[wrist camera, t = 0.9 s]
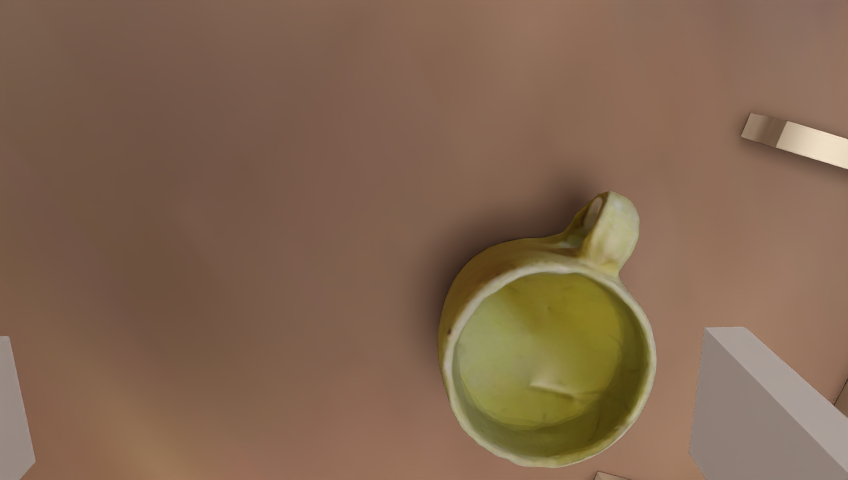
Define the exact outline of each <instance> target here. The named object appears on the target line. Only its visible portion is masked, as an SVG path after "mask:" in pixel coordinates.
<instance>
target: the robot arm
mask: <svg viewBox="0 0 848 480" xmlns="http://www.w3.org/2000/svg"><path fill="white" fill-rule="evenodd" d="M689 454H690V456H691V457H692V459H693V460H694V462H695V463H696V465H697V466H698V468H699V469H700V471H701V472H702V474H703V476H704V477H705V479H706V480H848V418H847V417H846V416H845V415H843V414H842V413H841V412H840V411H839V410H838V409H837V408H836V407H834V406H833V405H832V404H831V403H830V402H829V401H828V400H827V399H825V398H824V397H823V396H822V395H821V394H820V393H819V392H818V391H816V390H815V389H814V388H813V387H812V386H811V385H810V384H809V383H807V382H806V381H805V380H804V379H803V378H802V377H801V376H800V375H798V374H797V373H796V372H795V371H794V370H793V369H792V368H791V367H789V366H788V365H787V364H786V363H785V362H784V361H783V360H781V359H780V358H779V357H778V356H777V355H776V354H775V353H774V352H772V351H771V350H770V349H769V348H768V347H767V346H766V345H765V344H763V343H762V342H761V341H760V340H759V339H758V338H757V337H756V336H754V335H753V334H752V333H751V332H750V331H749V330H748V329H747V328H745V327H704V335H703V343H702V351H701V359H700V367H699V375H698V383H697V391H696V399H695V407H694V415H693V423H692V431H691V439H690V447H689ZM35 462H36V461H35V456H34V451H33V447H32V442H31V437H30V433H29V428H28V423H27V418H26V414H25V409H24V404H23V400H22V395H21V390H20V386H19V381H18V376H17V371H16V367H15V362H14V357H13V353H12V348H11V343H10V339H9V336H0V480H20V479H21V477H22V476H23V475H24V474H25V473H26V472H27V471H28V470H29V469H30V467H31V466H32V465H33V464H34V463H35Z"/></svg>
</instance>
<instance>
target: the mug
mask: <svg viewBox="0 0 848 480" xmlns="http://www.w3.org/2000/svg"><path fill="white" fill-rule="evenodd" d="M639 223H640V219H639V215H638V212H637V209H636V208H635V206H634V205H633V204H632V202H631V201H630V200H629V199H627V198H626V197H624V196H622V195H620V194H617V193H615V192H612V191H608V192H605V193H601V194H598V195H597V196H596V197H595V198H594V199H592V200H591V201H589V202H588V203H587V204H586V205H585V206H584V207H583V208H582V209H581V210H580V211H579V212H578V213H576V215H575V216H574V218H573V220H572V223H571V224H570V225H569V226H568V227H567V228H566V230H565V231H564V232H563V233H560V234H556V235H552V236H548V237H544V238H523V239H518V240H513V241H508V242H503V243H500V244H497V245H494V246H491V247H489V248H487V249H486V250H484V251H482V252H480V253H479V254H478V255H476V256H475V257H473V258H472V259H471V260H470V261H469V262H468V263H467V264H466V265H465V266H464V267H463V269H462V270H461V271H460V272H459V274H458V275H457V276H456V278H455V280H454V281H453V283H452V285H451V287H450V290H449V292H448V294H447V296H446V299H445V302H444V306H443V310H442V314H441V319H440V324H439V328H438V345H437V346H438V360H439V365H440V370H441V374H442V378H443V383H444V386H445V389H446V393H447V396H448V399H449V402H450V406H451V409H452V411H453V413H454V415H455V417H456V419H457V420H458V422H459V423H460V425H461V427H462V428H463V429H464V430H465V431H466V432H467V434H468V435H469V436H470V437H472V438H473V439H474V441H475V442H476V443H477V444H478V445H480V446H482V447H483V448H485V449H487V450H488V451H490V452H491V453H493V454H494V455H496V456H499V457H502V458H505V459H508V460H509V461H511V462H513V463H515V464H517V465H520V466H526V467H547V468H560V467H565V466H569V465H573V464H576V463H579V462H582V461H584V460H586V459H589V458H591V457H593V456H595V455H597V454H599V453H601V452H603V451H604V450H606V449H607V448H608V447H610V446H611V445H612V444H614V443H615V442H616V441H617V440H618V439H620V438H621V437H622V436H623V435H624V434H625V433H626V432H627V430H628V429H629V428H630V427H631V426H632V424H633V423H634V422H635V421H636V420H637V418H638V417H639V415H640V413H641V411H642V409H643V407H644V405H645V403H646V401H647V399H648V397H649V394H650V392H651V390H652V387H653V383H654V377H655V373H656V365H657V357H656V349H655V342H654V337H653V333H652V328H651V324H650V322H649V320H648V318H647V316H646V315H645V313H644V311H643V310H642V308H641V307H640V305H639V304H638V303H637V302H636V300H635V299H634V298H633V297H632V296H631V294H630V293H629V292H628V291H627V289H626V288H625V286H624V285H623V283H622V281H621V280H620V278H619V275H618V273H619V271H620V269H621V267H622V266H623V265H624V263H625V262H626V261H627V259H628V258H629V257H630V256H631V254H632V252H633V250H634V247H635V245H636V242H637V240H638V238H639Z"/></svg>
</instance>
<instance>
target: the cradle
mask: <svg viewBox="0 0 848 480" xmlns="http://www.w3.org/2000/svg"><path fill="white" fill-rule="evenodd" d="M741 137H743V138H746V139H749V140H753V141H756V142H759V143H762V144H766V145H769V146H772V147H776V148H779V149H782V150H785V151H789V152H792V153H795V154H799V155H802V156H805V157H808V158H812V159H815V160H818V161H822V162H825V163H828V164H831V165H835V166H838V167H841V168H845V169H848V139H845V138H842V137H838V136H835V135H832V134H829V133H825V132H822V131H819V130H816V129H812V128H809V127H806V126H802V125H799V124H796V123H793V122H789V121H786V120H781V119H776V118H771V117H767V116H762V115H757V114H752V113H751V114H750V116H749V118H748V121H747V123H746V125H745V128H744V130H743V132H742V135H741ZM834 407H836V408H837V409H838V410H839V411H840V412H841V413H842V414H843V415H845V416H846V417H847V418H848V381H847V382H846V384H845V386H844V388H843V390H842V392H841V394H840V396H839V398H838V399H837V401H836V403H835V405H834ZM594 480H629V479H625V478H621V477H617V476H614V475H610V474H606V473H602V472H599V471H598V472H597V475H596V477H595V479H594Z"/></svg>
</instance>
